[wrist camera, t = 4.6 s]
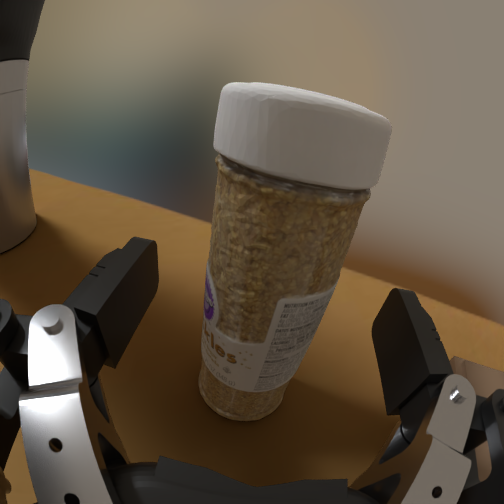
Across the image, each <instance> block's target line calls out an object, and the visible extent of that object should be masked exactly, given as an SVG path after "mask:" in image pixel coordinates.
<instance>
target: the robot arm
mask: <svg viewBox="0 0 504 504" xmlns="http://www.w3.org/2000/svg"><path fill="white" fill-rule="evenodd" d="M44 1H45V0H0V253H2V252H4V251H6V250H8V249H11V248H12V247H14V246H16V245H17V244H19V243H20V242H22V241H23V240H24V239H26V238H27V237H28V236H29V235H30V234H31V233H32V231H33V230H34V228H35V226H36V223H37V219H36V214H35V209H34V204H33V198H32V191H31V183H30V175H29V166H28V155H27V140H26V89H27V74H28V65H29V57H30V50H31V46H32V43H33V40H34V37H35V34H36V31H37V27H38V23H39V19H40V15H41V11H42V8H43V4H44ZM158 283H159V274H158V254H157V244H156V241H154V240H149V239H144V238H139V237H133V238H131V239H130V241H129V242H128V243H127V244H126V245H125V246H124V247H123V248H122V249H119V248H117V249H115V250H114V251H112V252H110V253H108V254H106V255H105V256H104V257H103V258H102V259H101V260H100V261H99V262H98V263H97V265H96V267H94V268H93V269H92V270H91V271H90V272H89V275H87V276H86V277H85V278H84V279H83V280H82V282H81V283H80V284H79V285H78V286H77V287H76V289H75V290H74V291H73V292H72V293H71V295H70V296H69V297H68V298H67V300H66V301H65V302H64V303H63V304H62V305H60V304H53V305H48V306H46V307H44V308H42V309H40V310H39V311H38V312H37V313H36V314H35V315H34V316H27V315H18V314H15V313H14V311H13V309H12V307H11V305H10V303H9V302H8V301H6V300H4V299H0V361H1V363H2V364H3V365H4V368H3V369H2V371H1V373H0V504H7V500H6V494H9V493H10V492H11V484H10V482H9V480H8V479H7V478H5V475H4V472H3V471H4V468H5V465H6V462H7V459H8V457H9V454H10V451H11V448H12V446H13V443H14V441H15V438H16V436H17V433H18V431H19V428H20V426H21V428H22V435H23V442H24V448H25V453H26V458H27V463H28V468H29V472H30V476H31V480H32V484H33V488H34V491H35V494H36V498H37V501H38V502H37V503H34V504H504V390H503V389H497V390H495V391H494V392H493V393H492V394H491V395H490V396H489V397H488V398H486V397H482V396H479V395H476V394H475V391H474V388H473V386H472V385H471V383H470V382H469V381H468V380H467V379H466V378H464V377H463V376H461V375H457V374H454V373H453V370H452V367H451V364H450V362H449V359H448V356H447V354H446V351H445V349H444V346H443V344H442V341H440V336H439V334H438V332H436V327H435V325H434V323H433V320H432V318H431V317H430V316H429V314H428V313H427V312H426V311H425V310H424V308H423V307H422V306H421V304H420V302H419V300H418V298H417V296H416V294H415V292H413V291H409V290H403V289H398V288H394V289H392V290H391V291H390V293H389V295H388V297H387V299H386V300H385V302H384V304H383V306H382V308H381V309H380V311H379V313H378V315H377V316H376V318H375V320H374V322H373V326H372V339H373V344H374V348H375V353H376V357H377V362H378V367H379V372H380V377H381V382H382V388H383V393H384V399H385V405H386V412H387V415H400V418H401V420H400V421H398V422H397V424H396V425H395V427H394V428H393V430H392V432H391V434H390V435H389V437H388V439H387V441H386V442H385V444H384V446H383V447H382V449H381V450H380V452H379V454H378V455H377V457H376V458H375V460H374V461H373V463H372V464H371V466H370V467H369V468H368V469H367V470H366V471H365V472H364V473H362V474H361V475H360V476H359V477H358V478H357V479H356V480H355V481H354V482H353V483H352V484H351V486H350V487H347V479H332V480H300V481H295V482H290V483H284V484H277V485H270V486H262V487H254V486H250V485H247V484H244V483H242V482H239V481H237V480H234V479H231V478H229V477H227V476H224V475H222V474H219V473H217V472H215V471H213V470H210V469H208V468H205V467H201V466H196V465H192V464H188V463H184V462H180V461H177V460H173V459H170V458H166V457H163V456H160V457H159V460H158V463H156V462H139V463H130V461H129V459H128V456H127V454H126V451H125V449H124V446H123V444H122V442H121V440H120V438H119V436H118V434H117V432H116V430H115V427H114V424H113V421H112V418H111V415H110V411H109V408H108V404H107V401H106V397H105V393H104V389H103V385H102V381H101V377H100V374H99V372H100V370H101V368H102V366H103V364H104V365H107V366H109V367H112V368H116V366H117V364H118V362H119V360H120V358H121V356H122V354H123V353H124V351H125V349H126V347H127V345H128V343H129V341H130V339H131V338H132V336H133V334H134V332H135V330H136V328H137V327H138V325H139V323H140V321H141V319H142V317H143V316H144V314H145V312H146V310H147V309H148V307H149V305H150V303H151V302H152V300H153V298H154V296H155V294H156V292H157V288H158ZM485 441H488V446H489V452H490V459H491V466H492V469H491V473H490V475H489V476H488V478H487V479H486V480H484V481H482V482H480V480H479V477H478V467H477V460H476V453H475V448H476V447H478V446H479V445H481V444H482V443H484V442H485Z"/></svg>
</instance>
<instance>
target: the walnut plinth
mask: <svg viewBox="0 0 504 504" xmlns="http://www.w3.org/2000/svg"><path fill="white" fill-rule="evenodd" d="M449 362H450V364H451V367H452V370H453V373H454V374H457V375H461V376H463V377H464V378H466V379H467V380H468V381H469V382H470V383H471V385H472V386H473V388H474V391H475V394H476V395H479V396H482V397H486V398H488V397H489V396H490V395H491V394H492V393H493V392H494V391H495V390H497V389H503V390H504V372H502V371H499V370H495V369H492V368H489V367H486V366H483V365H480V364H477V363H474V362H471V361H468V360H465V359H462V358H459V357H456V356H454V357H453V358H452V359H451V360H450V361H449ZM475 453H476V460H477V467H478V477H479V480H480V482H482V481H484V480H486V479H487V478H488V476H489V475H490V473H491V469H492V466H491V459H490V452H489V446H488V441H485V442H484V443H482V444H481V445H479V446H478V447H476V448H475Z"/></svg>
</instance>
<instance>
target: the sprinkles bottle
mask: <svg viewBox="0 0 504 504" xmlns="http://www.w3.org/2000/svg"><path fill="white" fill-rule="evenodd" d="M391 131H392V126H391V123H390V121H389V120H388V119H387V118H385V117H384V116H382V115H380V114H378V113H375V112H373V111H370V110H368V109H367V108H366V107H363V106H361V105H358V104H355V103H352V102H350V101H346V100H343V99H340V98H337V97H333V96H329V95H326V94H322V93H317V92H313V91H309V90H304V89H299V88H294V87H288V86H283V85H276V84H268V83H259V82H252V83H242V82H241V83H240V82H235V83H229V84H227V85H226V86H224V87H223V89H222V91H221V96H220V102H219V107H218V113H217V119H216V125H215V134H214V148H215V150H216V151H218V152H219V153H220V154H219V155H218V156H217V157H216V160H215V161H216V164H217V167H218V179H217V185H216V190H215V191H216V195H215V204H214V211H213V221H212V227H211V229H212V235H211V240H210V245H211V247H210V252H209V259H208V261H207V268H206V282H205V297H204V314H203V326H202V341H201V351H202V368H201V371H200V374H199V380H198V383H199V388H200V393H201V395H202V397H203V399H204V401H205V402H206V404H207V405H208V406H210V407H211V408H212V409H213V410H214V411H215V412H217V413H218V414H219V415H221V416H224V417H227V418H228V419H232V420H239V421H252V420H259V419H261V418H263V417H265V416H267V415H269V414H271V413H272V412H273V411H274V410H275V409H277V407H278V406H279V404H280V403H281V401H282V399H283V394H284V392H285V389H286V387H287V385H288V383H289V381H290V379H291V378H292V377H293V375H294V374H295V372H296V371H297V369H298V367H299V365H300V363H301V361H302V359H303V357H304V355H305V353H306V351H307V349H308V347H309V345H310V343H311V341H312V339H313V337H314V335H315V332H316V330H317V328H318V326H319V324H320V321H321V319H322V317H323V315H324V312H325V310H326V308H327V306H328V303H329V301H330V299H331V296H332V294H333V292H334V289H335V287H336V284H337V282H338V279H339V277H340V270H341V268H342V265H343V262H344V259H345V257H346V254H347V252H348V249H349V246H350V243H351V240H352V238H353V235H354V232H355V229H356V227H357V224H358V219H359V216H360V214H361V211H362V208H363V206H364V204H365V202H366V201H367V200H368V199H369V198H370V195H371V193H370V188H371V187H373V186H375V185H376V184H377V182H378V180H379V177H380V173H381V170H382V167H383V163H384V160H385V156H386V152H387V148H388V144H389V140H390V135H391Z"/></svg>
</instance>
